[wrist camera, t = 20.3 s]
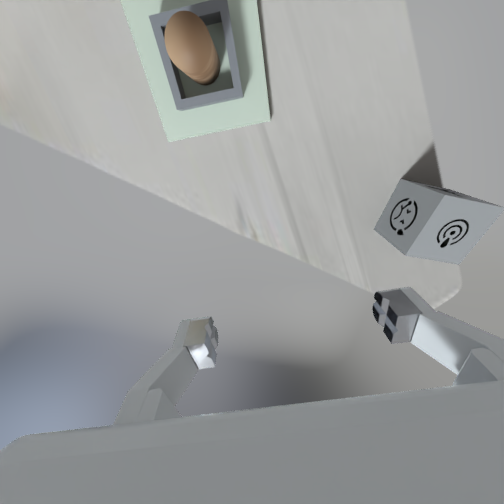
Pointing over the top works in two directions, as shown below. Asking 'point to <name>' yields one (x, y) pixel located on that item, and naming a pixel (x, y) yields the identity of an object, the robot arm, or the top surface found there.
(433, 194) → the icon cube
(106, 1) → the top surface
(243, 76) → the collar holder
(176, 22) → the brown dome-topped peg
